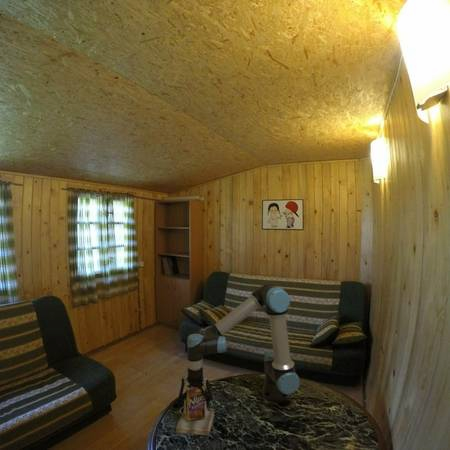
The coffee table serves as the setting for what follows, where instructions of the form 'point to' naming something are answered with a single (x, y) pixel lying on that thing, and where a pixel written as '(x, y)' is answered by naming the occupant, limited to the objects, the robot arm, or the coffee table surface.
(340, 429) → the coffee table surface
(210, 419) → the board
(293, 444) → the coffee table surface
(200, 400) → the candy box
